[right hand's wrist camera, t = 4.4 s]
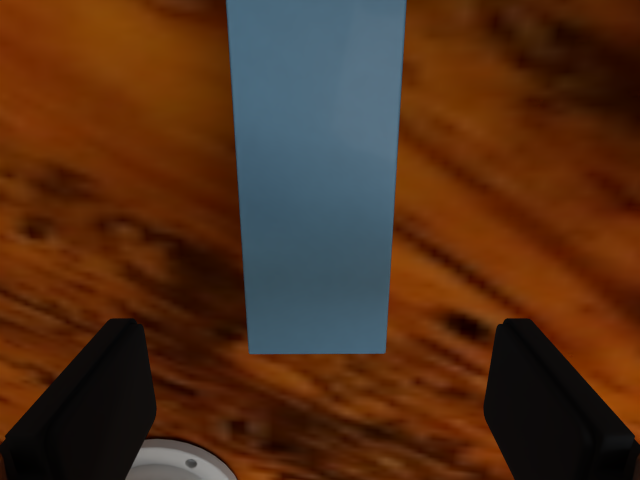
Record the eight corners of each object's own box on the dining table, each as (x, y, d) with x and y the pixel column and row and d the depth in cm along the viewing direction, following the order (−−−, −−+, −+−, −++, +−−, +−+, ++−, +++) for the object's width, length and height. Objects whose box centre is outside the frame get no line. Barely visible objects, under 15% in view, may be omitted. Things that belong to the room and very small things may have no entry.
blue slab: (258, -144, 21) (200, -371, 11) (374, -144, 21) (429, -369, 11) (273, 257, 28) (248, 355, 18) (360, 257, 28) (385, 354, 18)
